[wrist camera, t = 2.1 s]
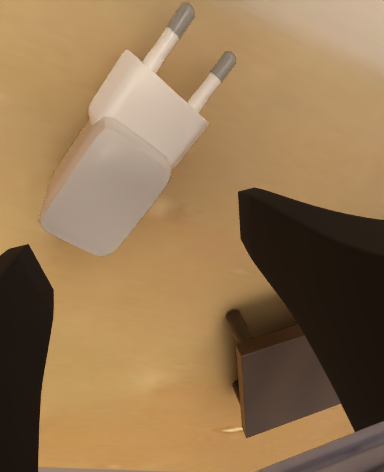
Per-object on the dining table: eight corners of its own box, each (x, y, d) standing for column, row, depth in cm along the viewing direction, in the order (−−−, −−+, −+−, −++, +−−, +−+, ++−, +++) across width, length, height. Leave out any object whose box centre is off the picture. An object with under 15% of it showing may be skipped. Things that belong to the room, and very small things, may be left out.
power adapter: (155, -8, 14) (184, -33, 10) (224, 67, 17) (275, 77, 12) (37, 176, 17) (15, 227, 13) (111, 217, 20) (116, 272, 15)
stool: (357, 268, 29) (399, 305, 25) (336, 355, 37) (366, 394, 33) (219, 309, 27) (241, 356, 23) (228, 392, 35) (246, 438, 31)
